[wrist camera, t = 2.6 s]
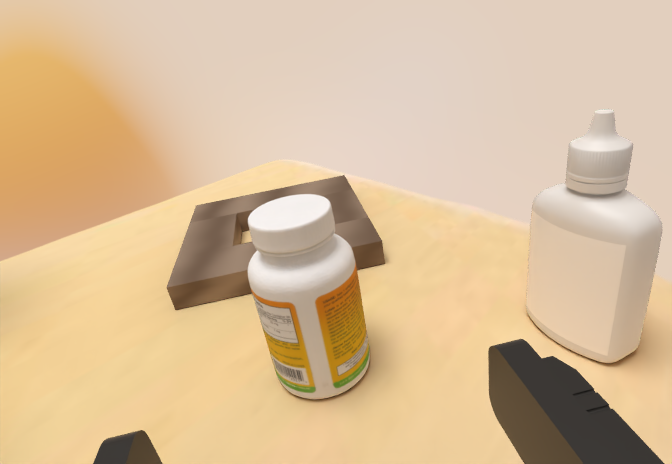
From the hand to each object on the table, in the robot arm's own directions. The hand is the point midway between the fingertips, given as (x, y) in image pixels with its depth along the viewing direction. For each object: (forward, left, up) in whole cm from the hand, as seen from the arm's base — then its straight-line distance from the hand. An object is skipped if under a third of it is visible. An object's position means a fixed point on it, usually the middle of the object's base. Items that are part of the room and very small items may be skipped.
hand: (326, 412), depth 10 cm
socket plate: (-2, +29, -9) cm, 30 cm away
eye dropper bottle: (+14, +10, -9) cm, 19 cm away
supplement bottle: (0, +12, -9) cm, 15 cm away
